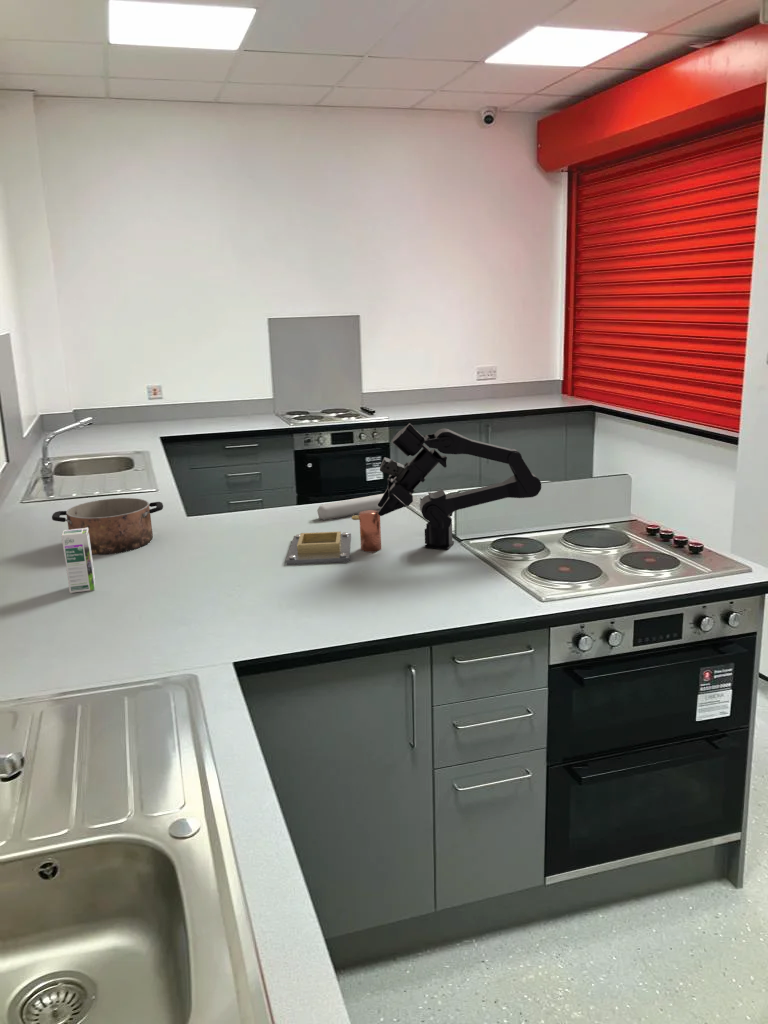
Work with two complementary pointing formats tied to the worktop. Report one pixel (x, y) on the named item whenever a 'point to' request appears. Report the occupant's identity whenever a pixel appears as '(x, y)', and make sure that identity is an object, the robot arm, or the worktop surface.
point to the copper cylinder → (369, 530)
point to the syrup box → (78, 560)
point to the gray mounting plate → (319, 548)
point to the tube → (349, 507)
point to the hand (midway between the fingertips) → (379, 510)
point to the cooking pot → (113, 523)
